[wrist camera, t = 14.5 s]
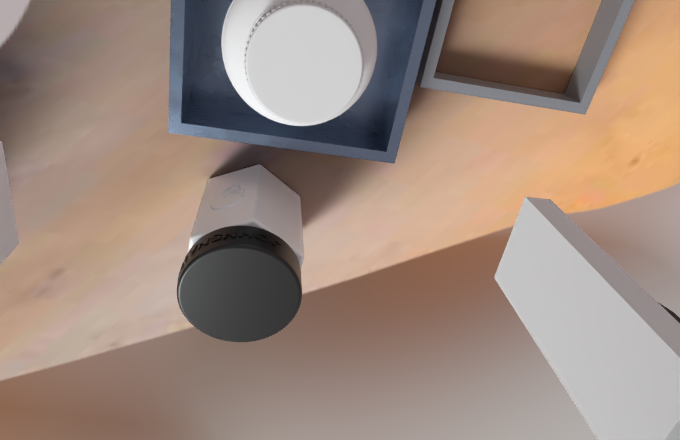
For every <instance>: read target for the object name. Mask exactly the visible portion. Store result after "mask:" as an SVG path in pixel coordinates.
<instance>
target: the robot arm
mask: <svg viewBox="0 0 680 440" xmlns="http://www.w3.org/2000/svg"><path fill="white" fill-rule="evenodd" d="M18 244H19V238H18V232H17V226H16V220H15V214H14V208H13V203H12V197H11V191H10V185H9V179H8V173H7V167H6V161H5V155H4V149H3V143H2V141H0V265H1V264H2V263H3V262H4V260H5V259H6V258H7V257H8V256H9V254H10V253H11V252H12V251H13V250H14V248H15V247H16V246H17V245H18ZM494 278H495V280H496V281H497V283H498V284H499V286H500V288H501V289H502V291H503V292H504V294H505V295H506V297H507V298H508V300H509V302H510V303H511V305H512V306H513V307H514V309H515V311H516V313H517V314H518V316H519V317H520V319H521V320H522V322H523V323H524V325H525V326H526V328H527V330H528V331H529V333H530V334H531V336H532V337H533V339H534V341H535V342H536V344H537V345H538V347H539V348H540V350H541V352H542V353H543V355H544V356H545V358H546V359H547V361H548V362H549V364H550V366H551V367H552V369H553V370H554V372H555V373H556V375H557V376H558V378H559V379H560V381H561V383H562V384H563V386H564V387H565V389H566V391H567V392H568V394H569V395H570V397H571V398H572V400H573V402H574V403H575V405H576V406H577V408H578V409H579V411H580V412H581V414H582V415H583V417H584V418H585V420H586V422H587V423H588V425H589V426H590V428H591V430H592V431H593V433H594V434H595V436H596V437H597V439H598V440H680V318H679V317H678V316H677V315H676V314H675V313H674V312H672V311H671V310H669V309H668V308H666V307H664V306H663V305H661V304H660V303H658V302H657V301H656V300H655V299H654V298H652V296H651V295H650V294H649V293H647V292H646V291H645V290H644V289H643V288H642V287H641V286H640V285H639V284H638V283H637V282H636V281H635V280H634V279H633V278H632V277H631V276H630V275H629V274H628V273H627V272H625V271H624V270H623V269H622V268H621V267H620V266H619V265H618V264H617V263H616V262H615V261H614V260H613V259H612V258H611V257H610V256H609V255H608V254H607V253H606V252H605V251H604V250H603V249H602V248H600V247H599V246H598V245H597V244H596V243H595V242H594V241H593V240H592V239H591V238H590V237H589V236H588V235H587V234H586V233H585V232H584V231H583V230H582V229H580V228H579V226H577V225H576V224H575V223H574V222H573V221H572V220H571V219H570V218H569V217H568V216H567V215H566V214H565V213H564V212H563V211H562V210H561V209H560V208H559V207H558V206H557V205H556V204H554V203H553V202H552V201H551V200H550V199H540V198H531V197H525V199H524V202H523V204H522V207H521V209H520V212H519V215H518V217H517V220H516V222H515V225H514V228H513V230H512V233H511V235H510V238H509V241H508V243H507V246H506V248H505V251H504V254H503V256H502V259H501V262H500V264H499V267H498V269H497V272H496V274H495V277H494Z"/></svg>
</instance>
